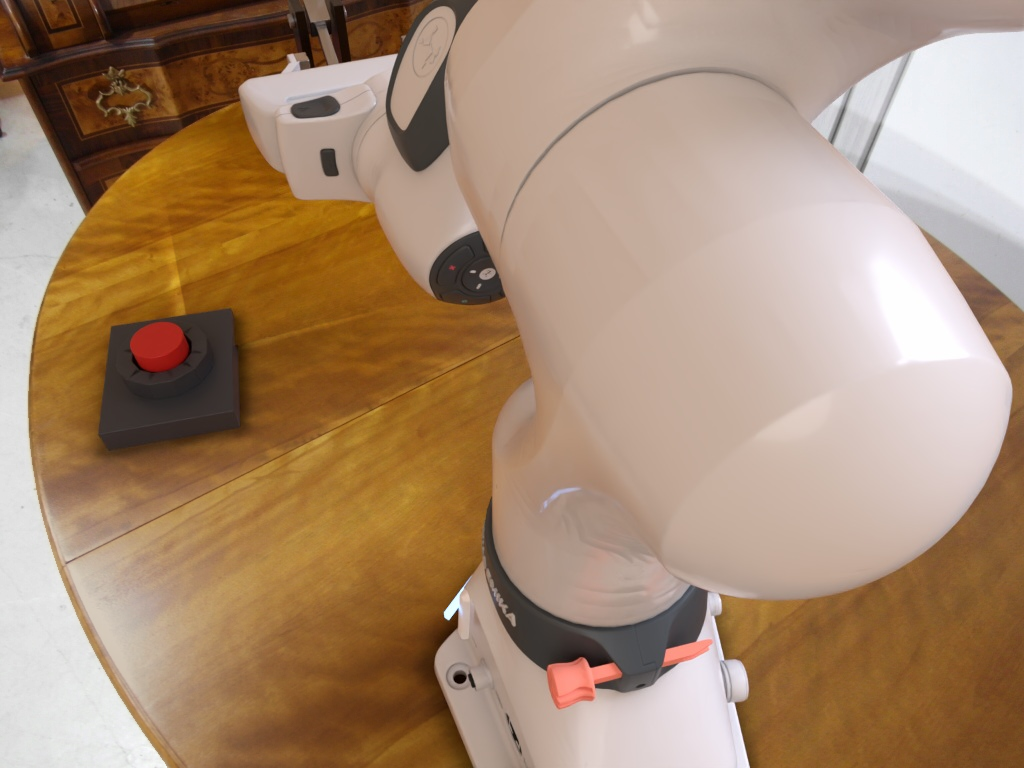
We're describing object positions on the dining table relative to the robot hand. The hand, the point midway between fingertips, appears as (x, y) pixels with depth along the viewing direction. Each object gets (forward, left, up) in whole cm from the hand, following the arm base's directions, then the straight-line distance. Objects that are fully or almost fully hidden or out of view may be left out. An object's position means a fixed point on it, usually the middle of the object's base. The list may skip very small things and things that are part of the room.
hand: (354, 52), depth 64 cm
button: (-15, +19, -16) cm, 29 cm away
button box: (-15, +19, -19) cm, 31 cm away
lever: (+18, +2, -10) cm, 21 cm away
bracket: (+22, +2, -19) cm, 29 cm away
